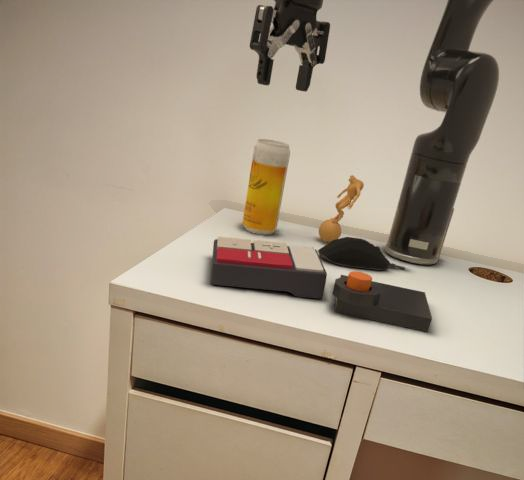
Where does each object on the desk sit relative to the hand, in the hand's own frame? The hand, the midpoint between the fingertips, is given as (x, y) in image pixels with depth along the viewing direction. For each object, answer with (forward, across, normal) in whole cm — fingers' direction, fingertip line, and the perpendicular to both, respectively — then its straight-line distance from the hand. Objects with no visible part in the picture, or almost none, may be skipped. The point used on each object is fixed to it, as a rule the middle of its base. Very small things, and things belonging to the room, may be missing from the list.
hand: (282, 87), depth 93 cm
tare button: (+20, -12, -32) cm, 40 cm away
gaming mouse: (+24, +6, -19) cm, 31 cm away
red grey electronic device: (+24, -16, -19) cm, 34 cm away
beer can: (+24, 0, 0) cm, 24 cm away
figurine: (+24, +10, -9) cm, 27 cm away
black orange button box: (+23, -7, -33) cm, 41 cm away
